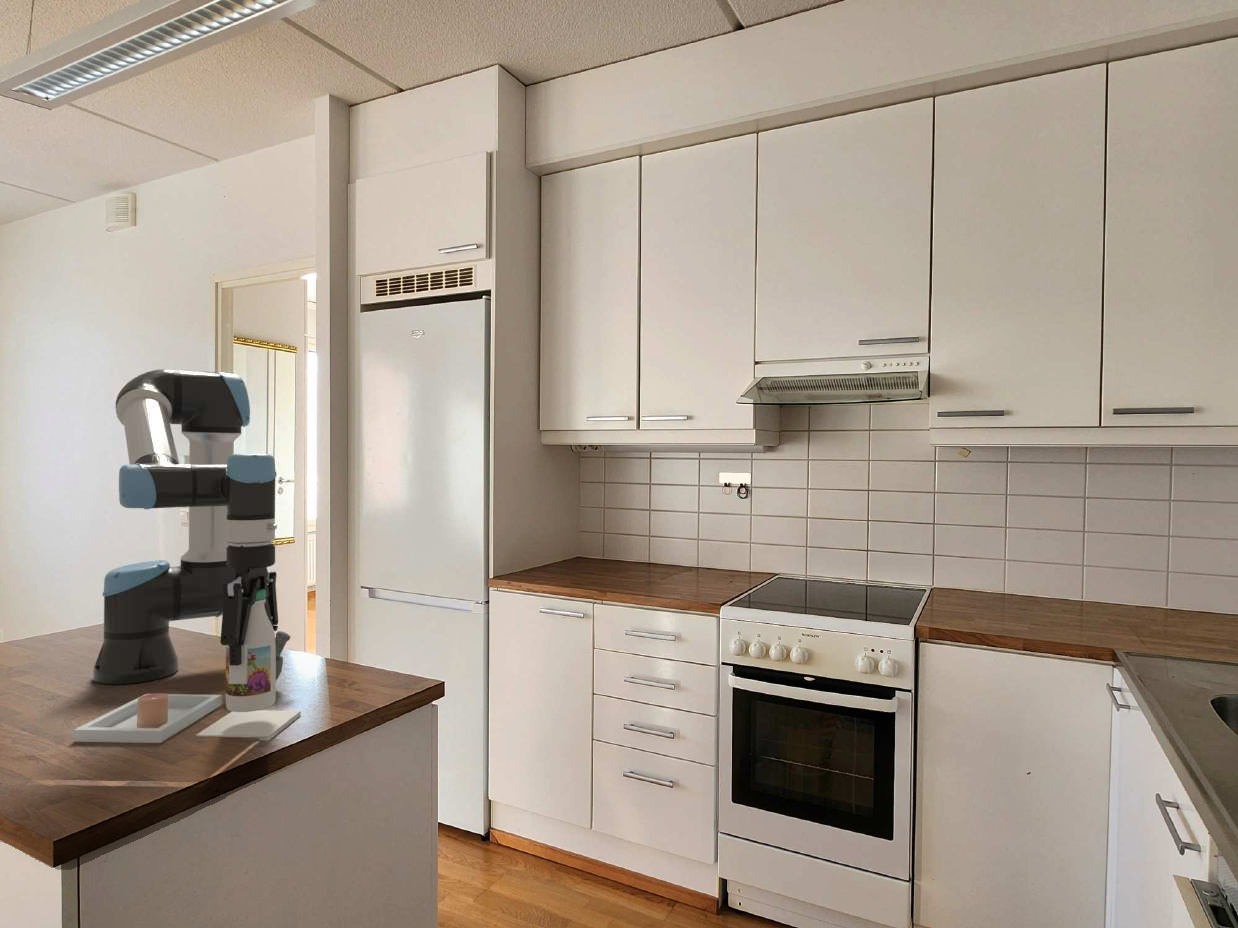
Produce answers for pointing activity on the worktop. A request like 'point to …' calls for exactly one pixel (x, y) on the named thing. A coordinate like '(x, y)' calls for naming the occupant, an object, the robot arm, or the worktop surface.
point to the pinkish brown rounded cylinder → (152, 710)
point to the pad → (251, 724)
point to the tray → (124, 728)
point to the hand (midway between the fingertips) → (250, 675)
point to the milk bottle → (255, 663)
